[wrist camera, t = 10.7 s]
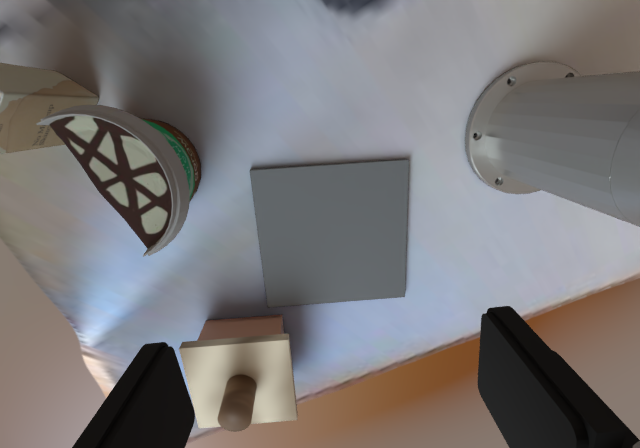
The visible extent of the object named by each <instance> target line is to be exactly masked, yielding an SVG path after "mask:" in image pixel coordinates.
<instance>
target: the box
mask: <svg viewBox="0 0 640 448" xmlns="http://www.w3.org/2000/svg"><path fill="white" fill-rule="evenodd" d="M98 100H99V97H98V96H97V95H95V94H93V93H92V92H90V91H89V90H87V89H85V88H84V87H82V86H81V85H79V84H77V83H76V82H74V81H72V80H71V79H69V78H67V77H65V76H64V75H62V74H60V73H58V72H57V71H52V70H45V69H38V68H32V67H24V66H18V65H11V64H5V63H0V154H5V153H11V152H18V151H25V150H31V149H38V148H44V147H51V146H58V145H65V143H64V142H63V141H62V140H61V139H60V138H59V137H58V136H57V135H56V133H55V132H54V130H53V129H52V128H51V126H50V125H37V124H36V123H39V122H41V120H40V119H42V118H44V117H47V116H49V115H51V114H53V113H55V112H58V111H60V110H63V109H66V108H70V107H73V106H81V105H97V103H98Z"/></svg>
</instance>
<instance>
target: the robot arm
mask: <svg viewBox="0 0 640 448" xmlns="http://www.w3.org/2000/svg"><path fill="white" fill-rule="evenodd" d="M507 80H508V81H509V82H508V84H507ZM474 133H475V136H474V137H473V134H474ZM465 148H466V154H467V158H468V162H469V164H470V166H471V168H472V170H473V171H474V173H475V174H476V175H477V176H478V177H479V179H480V180H482V181H483V182H484V183H486V184H487V185H488V186H490V187H492V188H494V189H496V190H499V191H502V192H505V193H511V194H528V193H532V192H536V191H540V190H543V191H546V192H548V193H551V194H554V195H556V196H559V197H562V198H564V199H567V200H570V201H572V202H575V203H578V204H580V205H583V206H586V207H588V208H591V209H593V210H596V211H599V212H601V213H604V214H607V215H609V216H612V217H615V218H617V219H620V220H623V221H625V222H628V223H631V224H634V225H636V226H639V227H640V71H637V72H625V73H614V74H602V75H590V76H581V75H580V74H579V73H578V72H577V71H576V70H574V69H572V68H571V67H569V66H567V65H564V64H560V63H557V62H544V61H543V62H535V63H529V64H526V65H522V66H518V67H516V68H514V69H512V70H510V71H508V72H506V73H504V74H503V75H502V76H500V77H499V78H497V79H496V80H495V81H494V82H493V83H492V84H491V85H490V86H489V87H488V88H487V89H486V90H485V91H484V92H483V93H482V95H481V96H480V98H479V99H478V100H477V102H476V104H475V106H474V108H473V110H472V112H471V114H470V117H469V120H468V123H467V127H466V135H465ZM496 179H497V180H496ZM495 180H496V181H495ZM478 389H479V392H480V395H481V397H482V399H483V401H484V402H485V404H486V406H487V408H488V410H489V411H490V413H491V415H492V417H493V419H494V420H495V422H496V424H497V426H498V428H499V430H500V431H501V433H502V435H503V437H504V439H505V440H506V442H507V444H508V446H509V447H510V448H640V440H639V439H638V438H637V437H636V436H635V435H634V434H633V433H632V432H631V430H630V429H629V428H628V427H627V426H626V425H625V424H624V423H623V422H622V421H621V420H620V419H619V418H618V417H617V416H616V415H615V413H614V412H613V411H612V410H611V409H610V408H609V407H608V406H607V405H606V404H605V403H604V402H603V401H602V400H601V399H600V398H599V397H598V395H597V394H596V393H595V392H594V391H593V390H592V389H591V388H590V387H589V386H588V385H587V384H586V383H585V382H584V381H583V380H582V379H581V377H579V375H578V374H577V373H576V372H575V371H574V370H573V369H572V368H571V367H570V366H569V365H568V364H567V363H566V362H565V360H564V359H563V358H562V357H561V356H560V355H558V354H557V353H556V352H554V351H552V350H551V349H550V348H549V347H548V346H547V345H546V344H545V343H544V342H543V341H542V339H541V338H540V337H539V336H538V335H537V334H536V333H535V332H534V331H533V330H532V329H531V328H530V327H529V325H528V324H527V323H526V322H525V321H524V320H523V319H522V318H521V317H520V316H519V315H518V314H517V313H516V311H515V310H514V309H513V308H511V307H510V306H504V307H494V308H489V309H488V310H487V313H486V314H483V315H482V318H481V335H480V352H479V369H478ZM194 419H195V413H194V409H193V406H192V403H191V400H190V397H189V394H188V391H187V388H186V385H185V382H184V379H183V376H182V373H181V370H180V366H179V363H178V360H177V357H176V354H175V351H174V349H173V348H172V347H168V344H167V343H165V342H161V343H151V344H145V345H144V346H143V347H142V348H141V349H140V351H139V352H138V354H137V355H136V356H135V358H134V359H133V361H132V362H131V364H130V365H129V367H128V368H127V369H126V371H125V372H124V374H123V375H122V377H121V378H120V380H119V381H118V382H117V384H116V385H115V387H114V388H113V390H112V391H111V392H110V394H109V395H108V397H107V398H106V400H105V401H104V403H103V404H102V405H101V407H100V408H99V410H98V411H97V413H96V414H95V416H94V417H93V418H92V420H91V421H90V423H89V424H88V426H87V427H86V429H85V430H84V432H83V433H82V434H81V436H80V437H79V439H78V440H77V441H76V443H75V444H74V446H73V447H72V448H185V446H186V443H187V440H188V438H189V435H190V432H191V430H192V427H193V424H194Z"/></svg>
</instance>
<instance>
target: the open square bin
mask: <svg viewBox="0 0 640 448" xmlns="http://www.w3.org/2000/svg"><path fill="white" fill-rule="evenodd" d="M276 334H284V326H283V317H282V315H270V316H257V317H244V318H232V319H219V320H206V322H205V324H204V327H203V329H202V331H201V333H200V336H199V338H198V340H197V341H202V340H214V339H226V338H239V337H251V336H264V335H276Z"/></svg>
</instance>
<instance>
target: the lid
mask: <svg viewBox="0 0 640 448" xmlns="http://www.w3.org/2000/svg"><path fill="white" fill-rule="evenodd" d="M179 350H180V354H181V358H182V362H183V366H184V370H185V374H186V378H187V382H188V386H189V390H190V394H191V398H192V402H193V406H194V410H195V414H196V418H197V422H198V426H199V428H210V427H222V428H224V429H226V430H228V431H234V432H236V431H242V430H244V429H246V428H247V427H248V426H249V425H250V424H254V423H267V422H279V421H290V420H297V404H296V395H295V386H294V376H293V367H292V358H291V349H290V340H289V334H276V335H264V336H251V337H239V338H226V339H214V340H202V341H189V342H182V344H181V346H180V348H179Z"/></svg>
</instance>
